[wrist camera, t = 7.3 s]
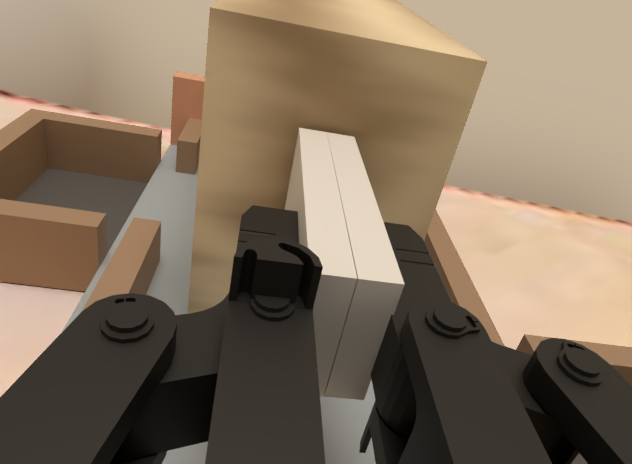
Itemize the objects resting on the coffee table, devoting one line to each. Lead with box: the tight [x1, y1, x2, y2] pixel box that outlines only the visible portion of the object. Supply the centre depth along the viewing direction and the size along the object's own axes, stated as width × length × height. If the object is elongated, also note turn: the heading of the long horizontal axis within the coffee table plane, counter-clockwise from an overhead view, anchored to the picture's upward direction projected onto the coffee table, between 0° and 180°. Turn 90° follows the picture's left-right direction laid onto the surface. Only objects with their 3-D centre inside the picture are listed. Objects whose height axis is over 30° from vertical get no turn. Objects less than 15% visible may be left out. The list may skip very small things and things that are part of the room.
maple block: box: [188, 0, 487, 314], centre depth 21 cm, size 7×15×10 cm, turn 2°
